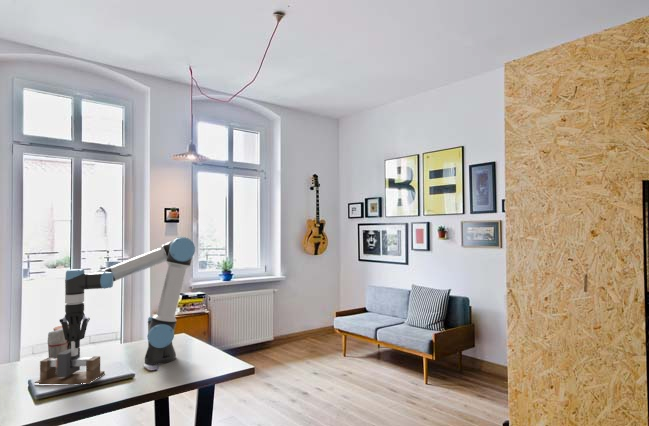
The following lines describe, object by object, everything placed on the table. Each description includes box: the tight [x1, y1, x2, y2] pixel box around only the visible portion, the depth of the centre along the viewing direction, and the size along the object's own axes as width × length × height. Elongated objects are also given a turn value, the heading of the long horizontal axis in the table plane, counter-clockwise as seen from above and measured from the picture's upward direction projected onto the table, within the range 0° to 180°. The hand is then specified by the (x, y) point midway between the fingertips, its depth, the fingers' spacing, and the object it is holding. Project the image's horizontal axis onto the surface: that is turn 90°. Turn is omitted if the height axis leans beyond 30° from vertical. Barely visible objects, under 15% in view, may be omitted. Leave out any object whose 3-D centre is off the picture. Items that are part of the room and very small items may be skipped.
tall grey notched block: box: [57, 347, 81, 377], centre depth 190 cm, size 4×10×10 cm, turn 179°
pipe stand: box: [34, 355, 105, 385], centre depth 189 cm, size 24×13×10 cm, turn 89°
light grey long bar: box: [49, 356, 94, 368], centre depth 190 cm, size 21×4×4 cm, turn 89°
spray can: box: [47, 328, 68, 372], centre depth 204 cm, size 8×8×20 cm
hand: (74, 355), depth 190 cm, fingers closed
